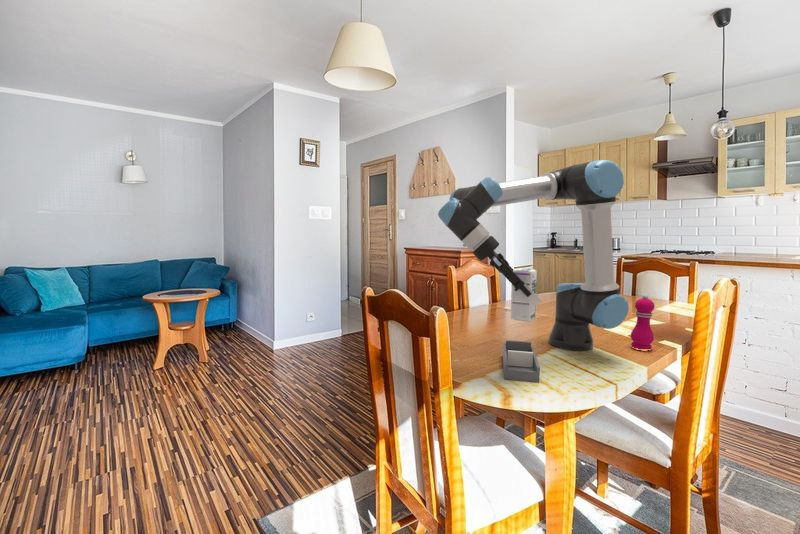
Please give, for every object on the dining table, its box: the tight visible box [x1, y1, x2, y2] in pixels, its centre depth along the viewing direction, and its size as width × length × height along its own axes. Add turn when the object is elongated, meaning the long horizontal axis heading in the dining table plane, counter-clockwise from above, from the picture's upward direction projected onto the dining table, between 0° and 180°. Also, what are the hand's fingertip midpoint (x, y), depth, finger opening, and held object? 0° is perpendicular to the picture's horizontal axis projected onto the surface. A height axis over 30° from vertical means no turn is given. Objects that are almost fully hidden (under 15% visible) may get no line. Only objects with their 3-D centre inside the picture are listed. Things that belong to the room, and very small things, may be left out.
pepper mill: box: [630, 293, 656, 350], centre depth 146 cm, size 7×7×20 cm
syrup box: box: [510, 268, 538, 323], centre depth 118 cm, size 6×6×14 cm
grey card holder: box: [502, 339, 541, 383], centre depth 125 cm, size 20×10×6 cm, turn 167°
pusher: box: [507, 350, 533, 368], centre depth 127 cm, size 6×7×4 cm
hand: (536, 301), depth 118 cm, fingers closed on syrup box, 7 cm apart
